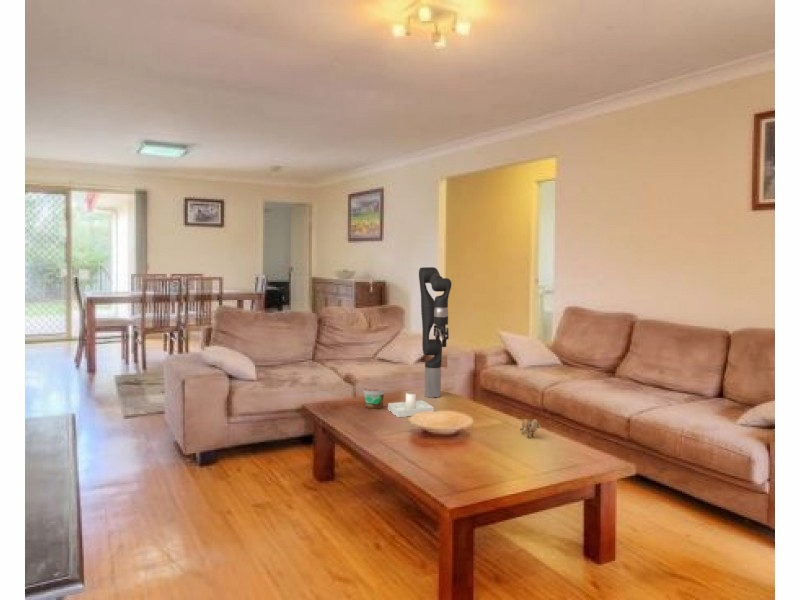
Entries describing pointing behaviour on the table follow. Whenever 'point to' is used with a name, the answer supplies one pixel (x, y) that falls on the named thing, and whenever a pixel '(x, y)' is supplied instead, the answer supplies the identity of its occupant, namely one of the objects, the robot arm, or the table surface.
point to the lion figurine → (530, 426)
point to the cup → (410, 400)
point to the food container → (374, 399)
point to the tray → (401, 411)
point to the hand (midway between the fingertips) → (440, 345)
